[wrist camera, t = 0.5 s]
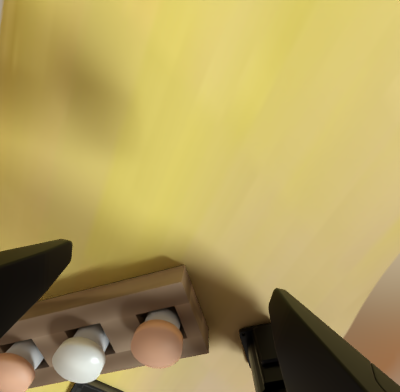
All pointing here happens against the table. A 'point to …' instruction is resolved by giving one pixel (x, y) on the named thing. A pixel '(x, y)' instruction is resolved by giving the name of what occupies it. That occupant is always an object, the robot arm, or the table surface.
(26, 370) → the knob
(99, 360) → the middle knob
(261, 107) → the table surface
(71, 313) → the knob mount
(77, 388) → the phone
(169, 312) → the knob
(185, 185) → the table surface
